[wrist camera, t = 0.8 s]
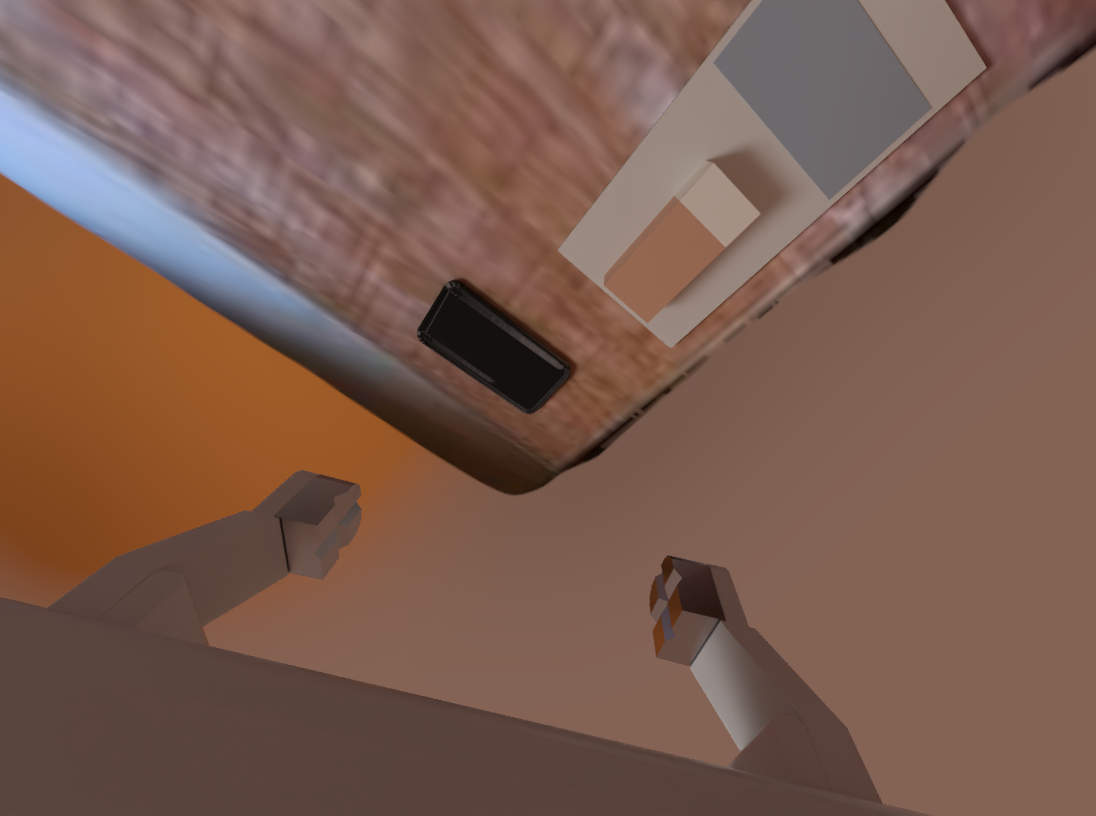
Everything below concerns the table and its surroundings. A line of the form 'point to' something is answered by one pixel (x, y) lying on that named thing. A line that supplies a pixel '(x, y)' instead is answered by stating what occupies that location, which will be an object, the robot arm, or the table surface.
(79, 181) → the table surface
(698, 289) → the mat
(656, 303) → the two-tone tall block
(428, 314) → the phone
